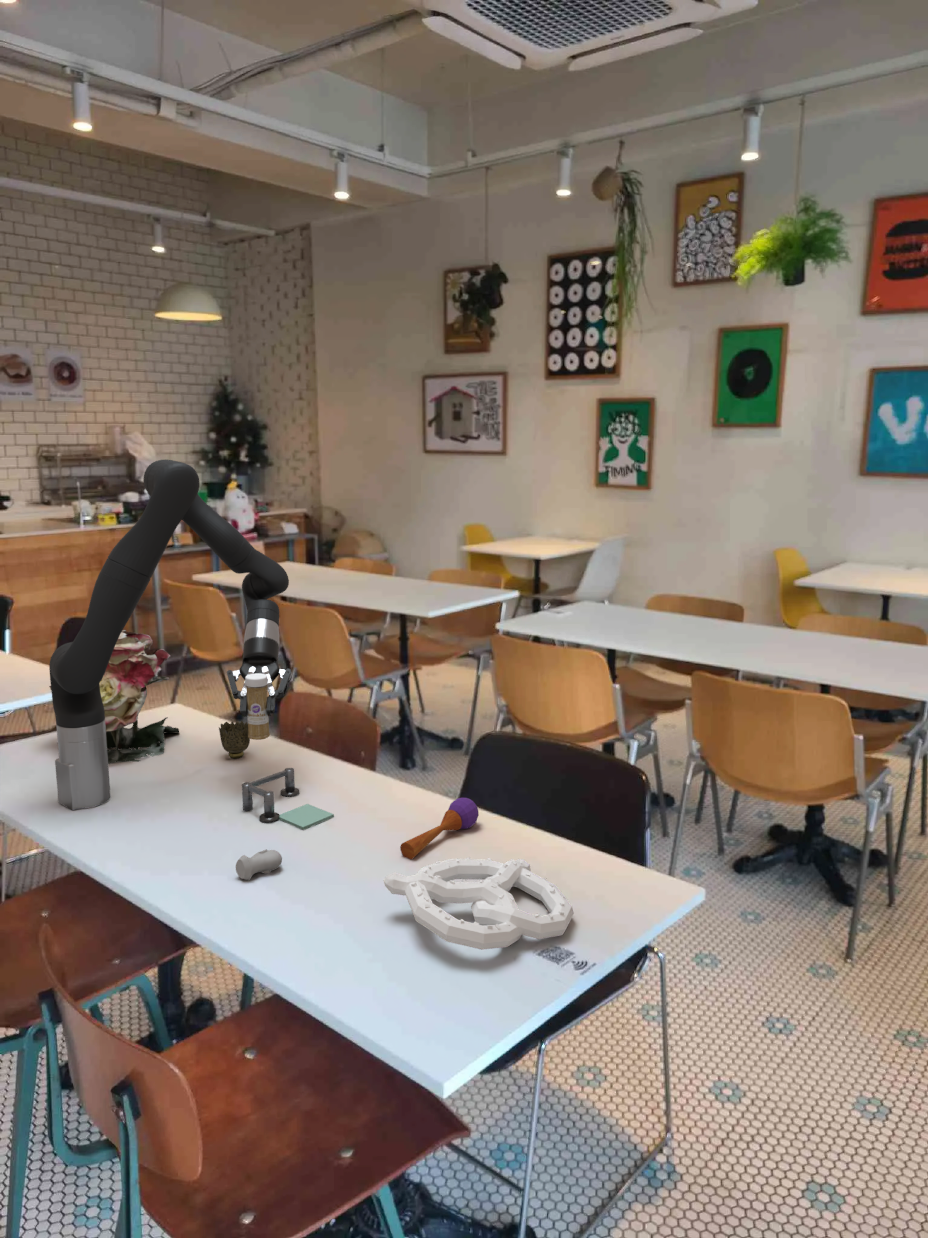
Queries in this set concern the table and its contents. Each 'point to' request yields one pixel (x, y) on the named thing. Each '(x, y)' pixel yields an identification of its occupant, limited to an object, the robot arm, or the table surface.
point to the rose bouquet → (132, 698)
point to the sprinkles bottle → (257, 706)
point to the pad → (305, 816)
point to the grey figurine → (258, 863)
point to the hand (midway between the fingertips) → (257, 714)
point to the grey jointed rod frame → (268, 794)
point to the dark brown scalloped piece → (234, 738)
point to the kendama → (444, 826)
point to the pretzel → (482, 901)
